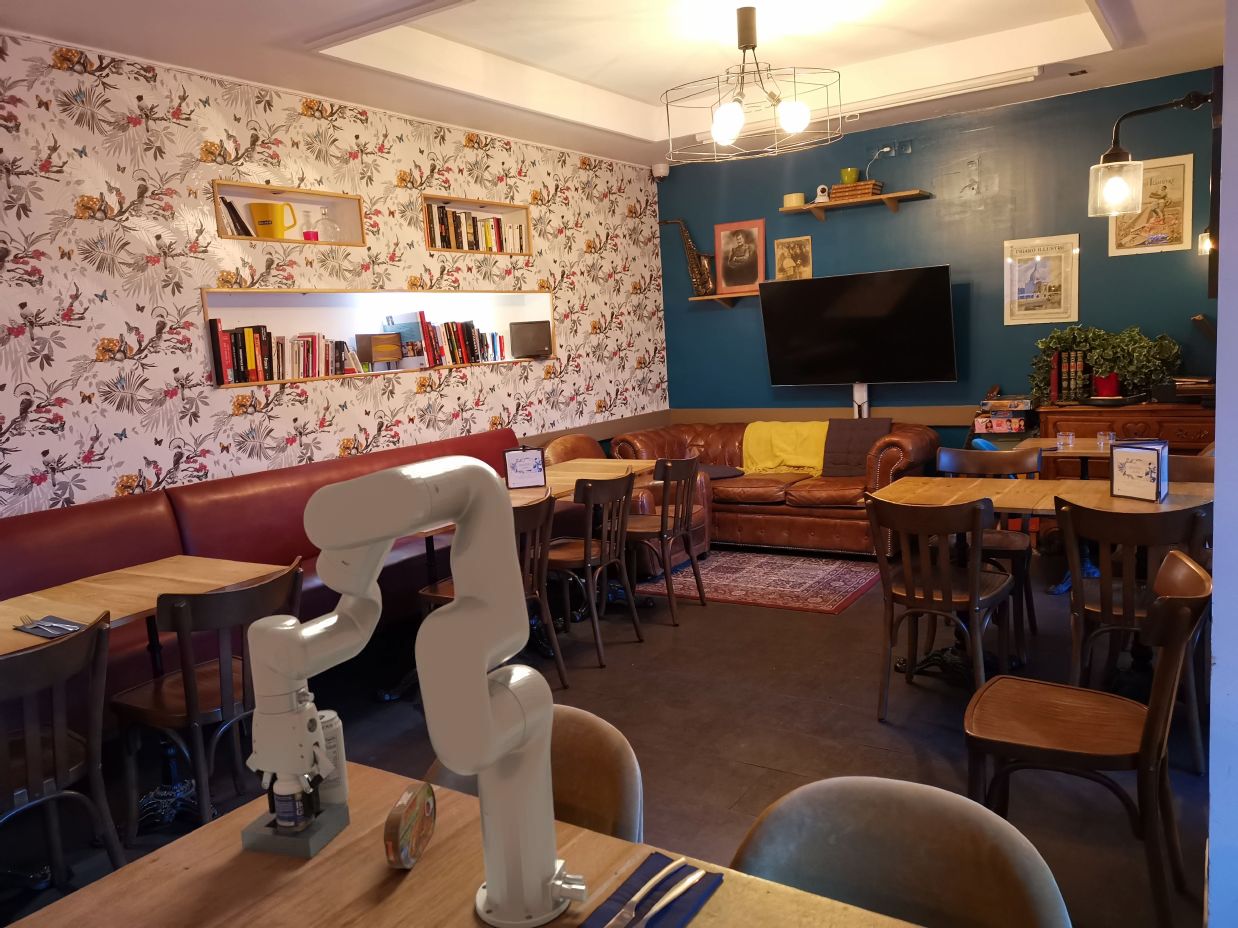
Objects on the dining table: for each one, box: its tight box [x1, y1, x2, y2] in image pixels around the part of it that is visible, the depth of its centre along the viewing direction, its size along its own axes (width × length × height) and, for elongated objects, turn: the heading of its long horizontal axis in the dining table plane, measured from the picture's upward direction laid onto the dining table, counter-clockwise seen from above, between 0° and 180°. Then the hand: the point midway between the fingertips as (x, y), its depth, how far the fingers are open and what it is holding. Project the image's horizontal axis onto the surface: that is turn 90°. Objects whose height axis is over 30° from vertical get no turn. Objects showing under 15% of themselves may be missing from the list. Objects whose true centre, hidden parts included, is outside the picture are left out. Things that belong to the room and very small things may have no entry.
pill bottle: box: [273, 773, 314, 831], centre depth 136 cm, size 5×5×10 cm
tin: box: [383, 781, 437, 870], centre depth 131 cm, size 15×3×8 cm, turn 173°
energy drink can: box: [308, 709, 350, 805], centre depth 146 cm, size 6×6×15 cm
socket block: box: [240, 802, 351, 859], centre depth 137 cm, size 12×10×3 cm
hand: (294, 809), depth 137 cm, fingers closed on pill bottle, 5 cm apart
